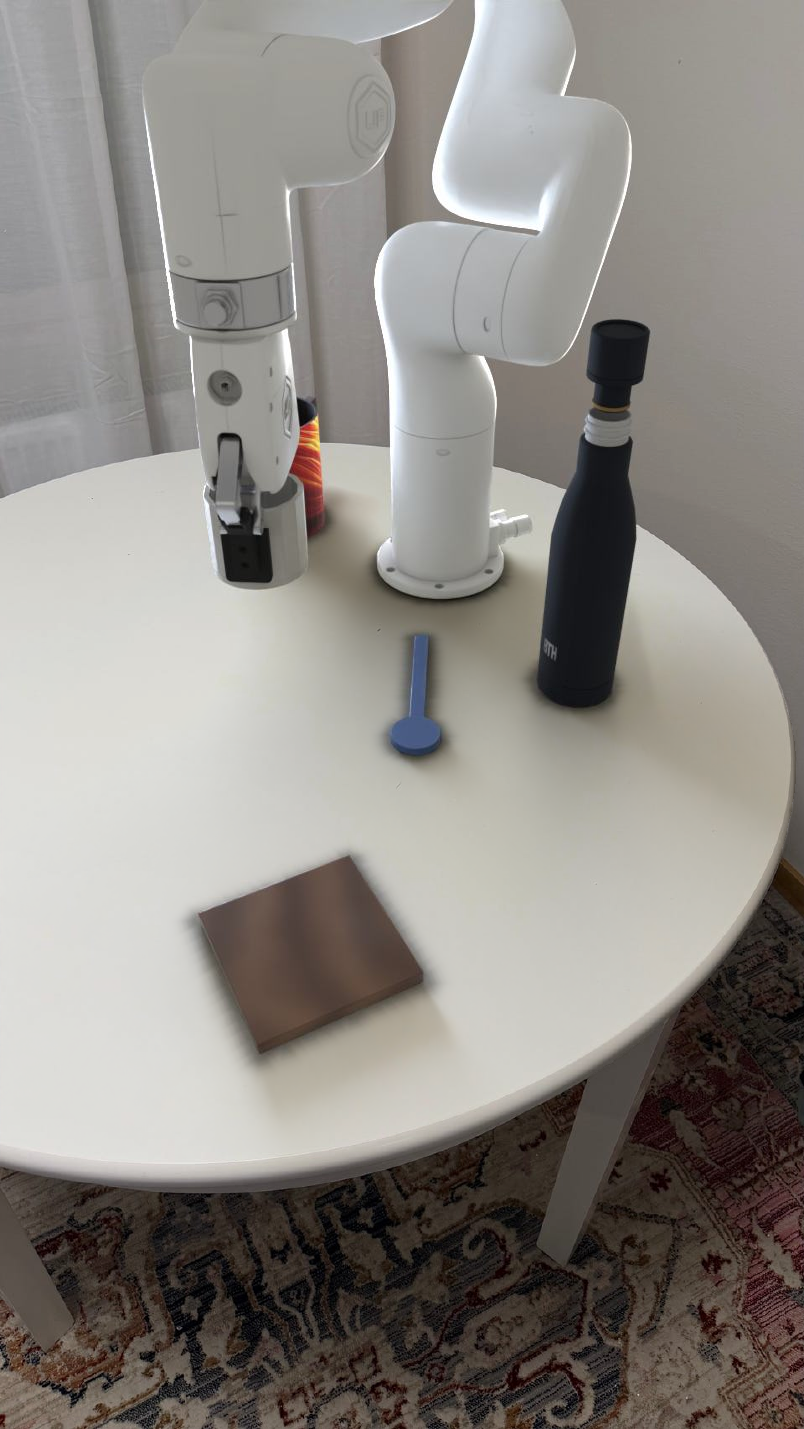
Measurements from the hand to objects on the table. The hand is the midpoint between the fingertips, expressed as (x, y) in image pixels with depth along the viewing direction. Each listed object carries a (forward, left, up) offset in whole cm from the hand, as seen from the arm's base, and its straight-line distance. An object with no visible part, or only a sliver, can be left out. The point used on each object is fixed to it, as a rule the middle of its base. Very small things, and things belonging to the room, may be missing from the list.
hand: (259, 550), depth 72 cm
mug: (-13, -33, -16) cm, 39 cm away
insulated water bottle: (-24, +7, -16) cm, 30 cm away
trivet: (+7, +22, -16) cm, 28 cm away
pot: (0, 0, -1) cm, 1 cm away
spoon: (-12, +2, -16) cm, 20 cm away
